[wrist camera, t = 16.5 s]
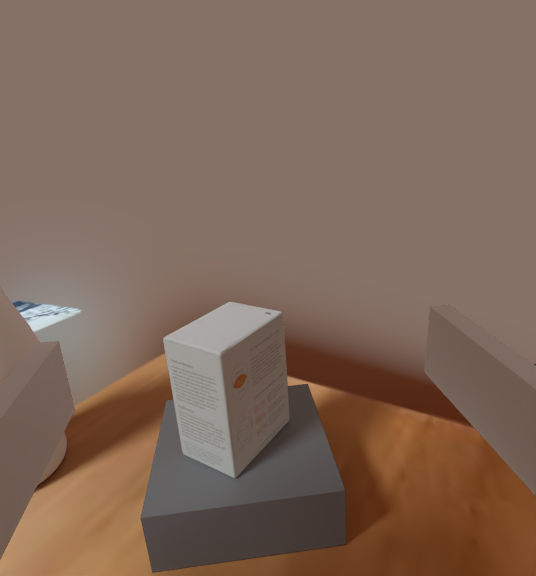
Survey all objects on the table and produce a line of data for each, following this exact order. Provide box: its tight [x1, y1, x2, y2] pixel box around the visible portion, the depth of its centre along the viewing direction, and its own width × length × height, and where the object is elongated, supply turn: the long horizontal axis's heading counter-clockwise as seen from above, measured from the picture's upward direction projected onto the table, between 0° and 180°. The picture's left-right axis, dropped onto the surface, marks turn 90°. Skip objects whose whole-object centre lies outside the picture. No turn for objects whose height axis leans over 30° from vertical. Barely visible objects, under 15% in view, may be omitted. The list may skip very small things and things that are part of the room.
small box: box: [163, 302, 290, 478], centre depth 34 cm, size 8×6×10 cm
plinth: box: [141, 384, 346, 572], centre depth 37 cm, size 14×14×5 cm
